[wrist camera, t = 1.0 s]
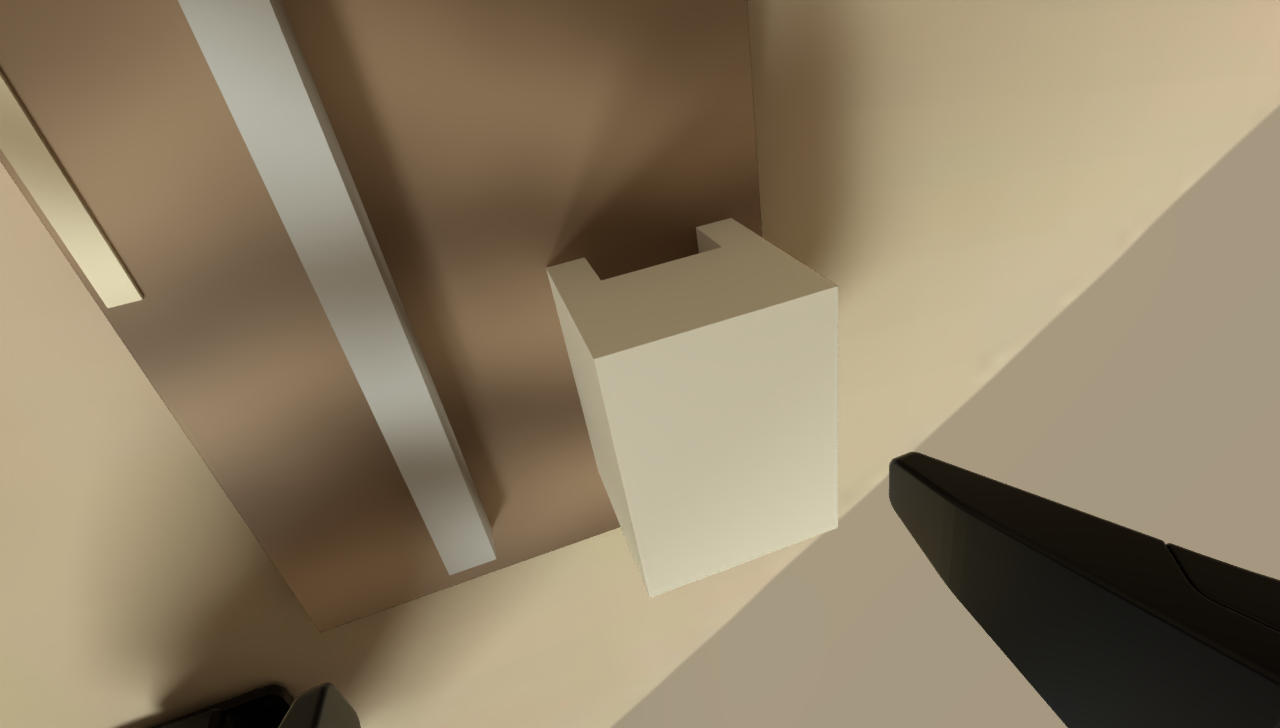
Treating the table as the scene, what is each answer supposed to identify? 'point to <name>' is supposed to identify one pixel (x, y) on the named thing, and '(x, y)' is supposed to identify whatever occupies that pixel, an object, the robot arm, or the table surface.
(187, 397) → the cleat board
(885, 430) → the table surface
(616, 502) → the notched block
